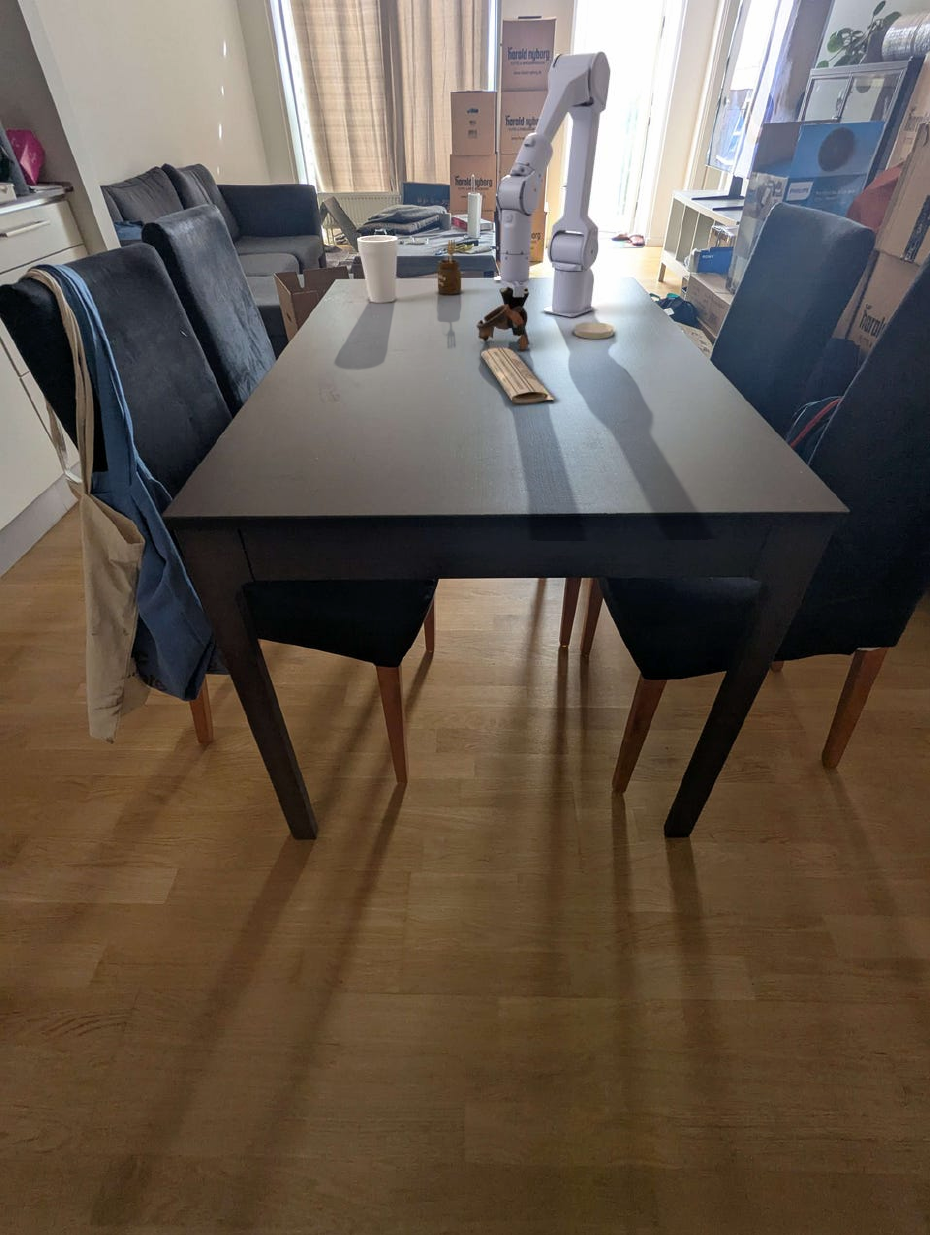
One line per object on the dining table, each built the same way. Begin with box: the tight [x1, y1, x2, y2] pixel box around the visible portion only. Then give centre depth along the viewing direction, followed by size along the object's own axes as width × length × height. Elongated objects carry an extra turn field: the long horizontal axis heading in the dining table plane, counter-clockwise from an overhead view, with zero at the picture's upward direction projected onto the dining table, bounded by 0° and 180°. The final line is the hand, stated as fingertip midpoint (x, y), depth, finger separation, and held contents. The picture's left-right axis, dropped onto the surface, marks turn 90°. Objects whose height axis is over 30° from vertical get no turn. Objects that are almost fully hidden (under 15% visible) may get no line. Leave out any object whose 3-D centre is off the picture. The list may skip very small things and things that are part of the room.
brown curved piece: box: [476, 304, 530, 352], centre depth 121 cm, size 12×10×8 cm
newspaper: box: [481, 347, 555, 404], centre depth 107 cm, size 24×7×2 cm, turn 11°
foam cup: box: [357, 234, 399, 304], centre depth 148 cm, size 10×9×13 cm
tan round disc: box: [573, 321, 615, 340], centre depth 127 cm, size 8×8×1 cm
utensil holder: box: [437, 239, 462, 296], centre depth 153 cm, size 6×6×12 cm
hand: (512, 327), depth 127 cm, fingers closed
